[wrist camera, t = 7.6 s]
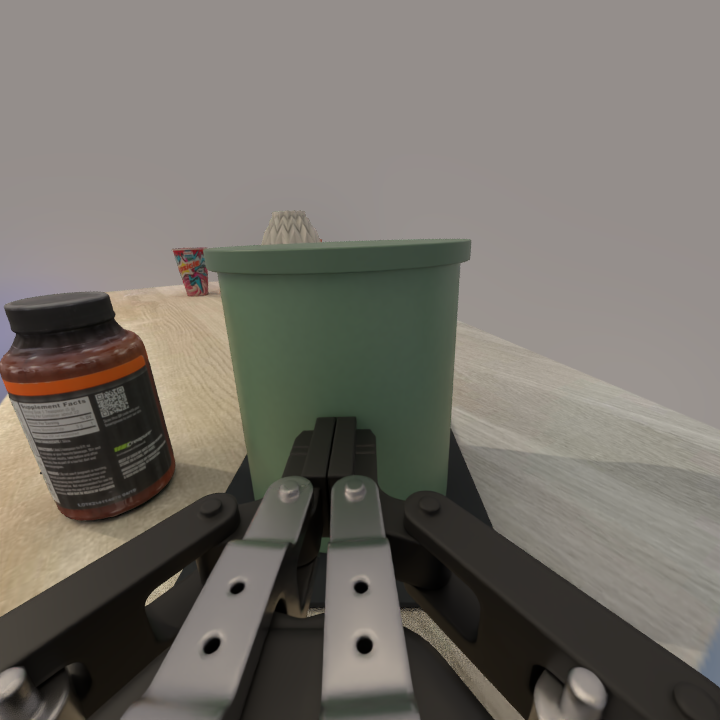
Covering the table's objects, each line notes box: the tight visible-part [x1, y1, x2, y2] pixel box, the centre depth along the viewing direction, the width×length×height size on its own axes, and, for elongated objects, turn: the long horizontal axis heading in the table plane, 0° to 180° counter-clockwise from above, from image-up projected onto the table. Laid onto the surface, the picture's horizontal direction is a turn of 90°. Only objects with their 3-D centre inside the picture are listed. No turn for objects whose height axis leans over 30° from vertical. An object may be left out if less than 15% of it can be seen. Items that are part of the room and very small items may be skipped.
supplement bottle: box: [0, 292, 175, 520], centre depth 19 cm, size 6×6×11 cm
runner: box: [174, 428, 494, 608], centre depth 32 cm, size 40×14×1 cm, turn 179°
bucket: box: [203, 239, 471, 553], centre depth 19 cm, size 12×12×13 cm
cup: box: [172, 248, 208, 296], centre depth 92 cm, size 9×8×12 cm
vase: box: [261, 210, 321, 245], centre depth 73 cm, size 16×16×18 cm
